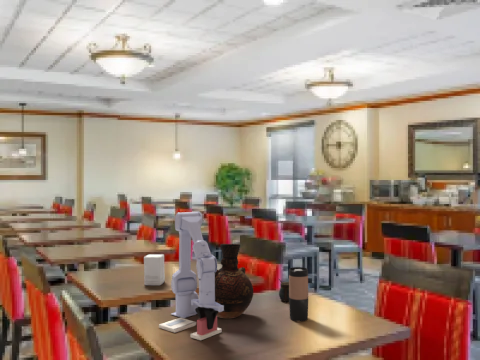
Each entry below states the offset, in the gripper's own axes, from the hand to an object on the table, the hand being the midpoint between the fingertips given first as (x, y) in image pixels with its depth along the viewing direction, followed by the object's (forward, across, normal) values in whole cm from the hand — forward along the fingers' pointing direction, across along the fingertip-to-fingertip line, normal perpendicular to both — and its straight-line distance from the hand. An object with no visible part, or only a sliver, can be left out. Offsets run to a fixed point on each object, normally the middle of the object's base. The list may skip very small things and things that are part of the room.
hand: (207, 327), depth 168 cm
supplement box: (+3, -78, +40) cm, 88 cm away
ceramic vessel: (+3, -9, +22) cm, 24 cm away
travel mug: (+3, +15, +37) cm, 40 cm away
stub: (+3, -1, 0) cm, 3 cm away
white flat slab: (+3, -16, 0) cm, 16 cm away
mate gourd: (+3, -4, +56) cm, 56 cm away
